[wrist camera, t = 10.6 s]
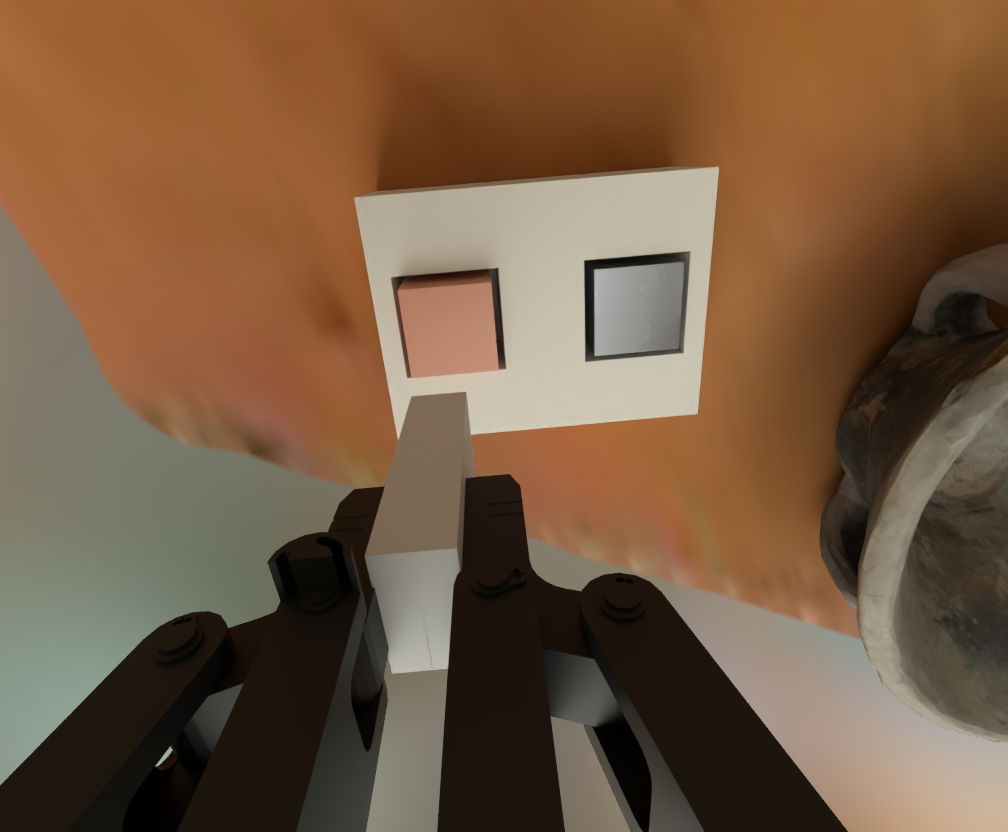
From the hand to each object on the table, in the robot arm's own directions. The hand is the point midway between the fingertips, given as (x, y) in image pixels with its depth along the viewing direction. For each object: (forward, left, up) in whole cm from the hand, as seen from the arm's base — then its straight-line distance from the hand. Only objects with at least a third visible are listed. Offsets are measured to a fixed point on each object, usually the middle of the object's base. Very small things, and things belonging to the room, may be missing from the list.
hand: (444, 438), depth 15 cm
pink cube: (0, 0, -15) cm, 15 cm away
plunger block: (0, +4, -18) cm, 18 cm away
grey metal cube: (0, +9, -16) cm, 18 cm away
